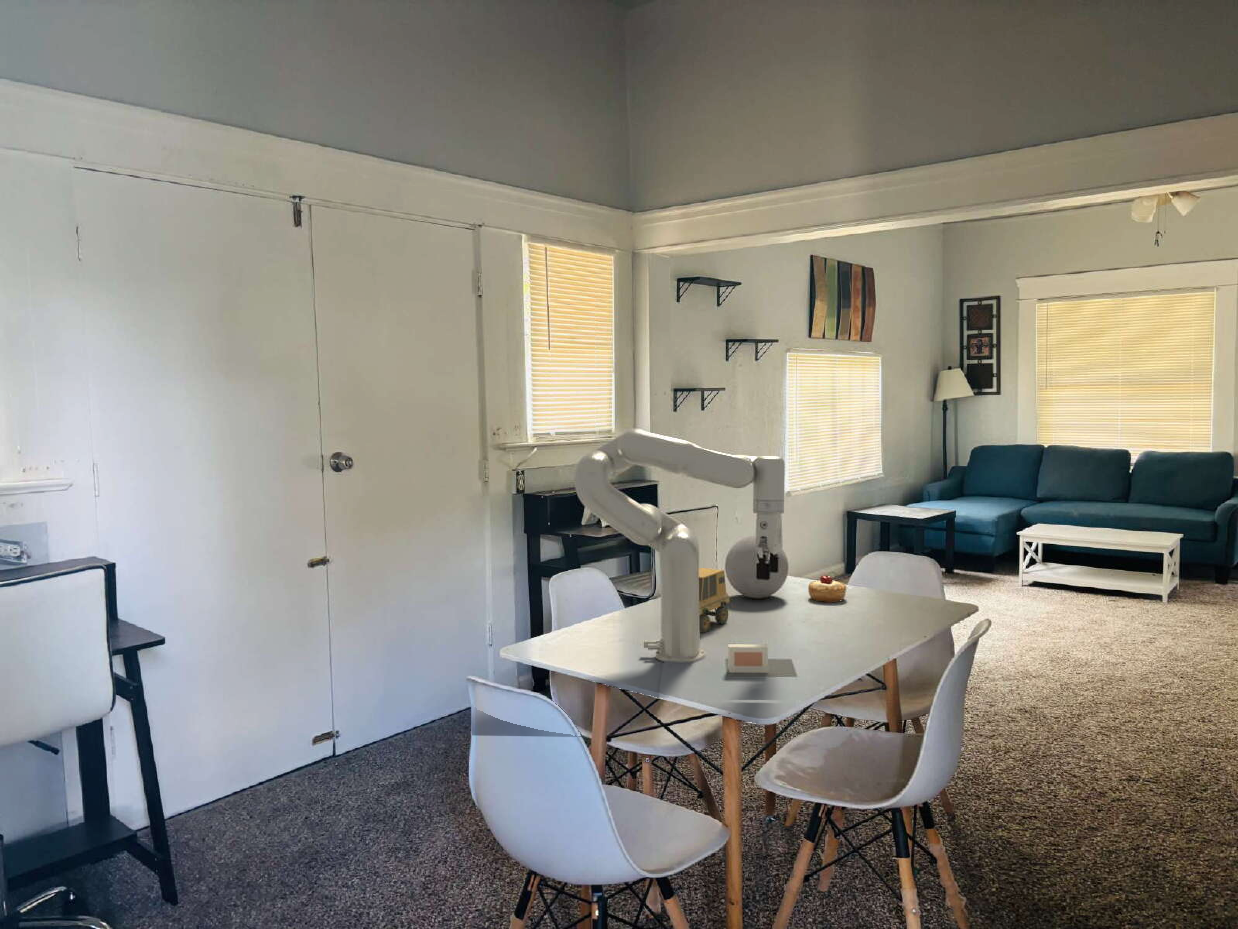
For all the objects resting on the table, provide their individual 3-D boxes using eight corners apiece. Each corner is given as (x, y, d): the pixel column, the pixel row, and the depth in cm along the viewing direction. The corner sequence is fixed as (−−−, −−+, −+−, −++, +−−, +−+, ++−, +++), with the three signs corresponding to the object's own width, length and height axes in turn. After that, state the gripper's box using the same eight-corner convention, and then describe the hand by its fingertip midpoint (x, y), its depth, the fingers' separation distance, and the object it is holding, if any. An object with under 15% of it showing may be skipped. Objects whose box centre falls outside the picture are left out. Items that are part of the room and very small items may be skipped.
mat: (727, 678, 214) (727, 676, 214) (725, 661, 228) (725, 658, 228) (797, 679, 213) (797, 676, 212) (791, 661, 226) (791, 659, 226)
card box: (728, 672, 216) (728, 647, 216) (728, 669, 219) (728, 644, 219) (767, 673, 216) (767, 647, 215) (767, 669, 218) (766, 644, 218)
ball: (793, 604, 287) (792, 540, 286) (728, 605, 288) (727, 541, 286) (783, 590, 307) (783, 530, 305) (722, 591, 308) (722, 531, 306)
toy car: (667, 630, 258) (667, 577, 257) (701, 616, 274) (700, 566, 273) (700, 635, 252) (699, 581, 251) (732, 620, 268) (732, 569, 267)
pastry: (804, 597, 299) (803, 570, 299) (840, 595, 300) (839, 568, 299) (814, 604, 287) (813, 576, 287) (851, 602, 288) (851, 574, 287)
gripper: (776, 511, 218) (775, 583, 219) (790, 503, 234) (789, 570, 235) (745, 510, 221) (744, 581, 222) (761, 502, 237) (760, 568, 238)
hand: (767, 575), depth 229 cm, fingers open, 9 cm apart
